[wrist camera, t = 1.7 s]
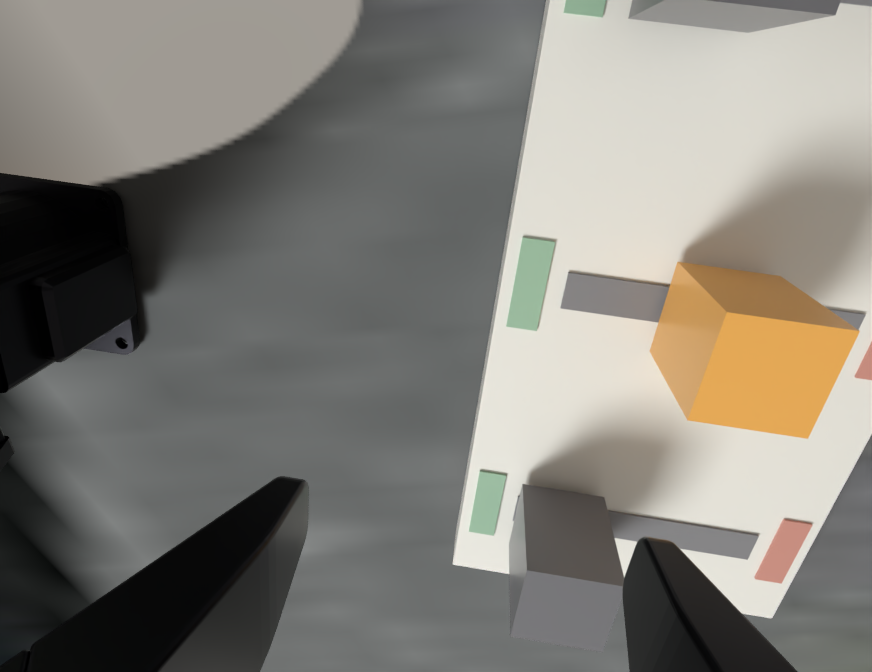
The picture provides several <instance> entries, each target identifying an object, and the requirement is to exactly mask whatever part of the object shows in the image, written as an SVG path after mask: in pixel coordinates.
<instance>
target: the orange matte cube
mask: <svg viewBox="0 0 872 672" xmlns="http://www.w3.org/2000/svg"><path fill="white" fill-rule="evenodd" d="M859 332H860V331H859V330H858V329H856V328H855V327H853V326H852V325H850V324H849V323H848V322H846V321H845V320H843V319H842V318H840V317H839V316H837V315H836V314H835V313H833V312H832V311H830V310H829V309H827V308H826V307H825V306H823V305H822V304H820V303H819V302H817V301H816V300H814V299H813V298H812V297H810V296H809V295H807V294H806V293H804V292H803V291H801V290H800V289H799V288H797V287H796V286H794V285H793V284H791V283H790V282H788V281H787V280H786V279H784V278H783V277H781V276H777V275H770V274H763V273H755V272H748V271H741V270H734V269H727V268H719V267H712V266H705V265H698V264H691V263H683V262H677V264H676V268H675V271H674V274H673V277H672V281H671V284H670V287H669V290H668V293H667V297H666V300H665V303H664V306H663V309H662V313H661V316H660V319H659V322H658V326H657V329H656V332H655V335H654V338H653V342H652V345H651V348H650V353H651V355H652V357H653V359H654V360H655V362H656V364H657V366H658V368H659V370H660V371H661V373H662V375H663V377H664V379H665V381H666V382H667V384H668V386H669V388H670V390H671V391H672V393H673V395H674V397H675V399H676V401H677V402H678V404H679V406H680V408H681V410H682V411H683V413H684V415H685V417H686V419H687V420H688V421H695V422H701V423H708V424H714V425H721V426H727V427H734V428H741V429H747V430H754V431H760V432H767V433H773V434H780V435H786V436H793V437H799V438H806V439H808V438H809V436H810V434H811V432H812V430H813V427H814V425H815V423H816V421H817V419H818V417H819V415H820V413H821V411H822V409H823V407H824V405H825V403H826V401H827V399H828V396H829V394H830V392H831V390H832V388H833V386H834V384H835V382H836V380H837V378H838V376H839V374H840V372H841V370H842V368H843V365H844V363H845V361H846V359H847V357H848V355H849V353H850V351H851V349H852V347H853V345H854V343H855V341H856V339H857V337H858V335H859Z"/></svg>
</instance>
